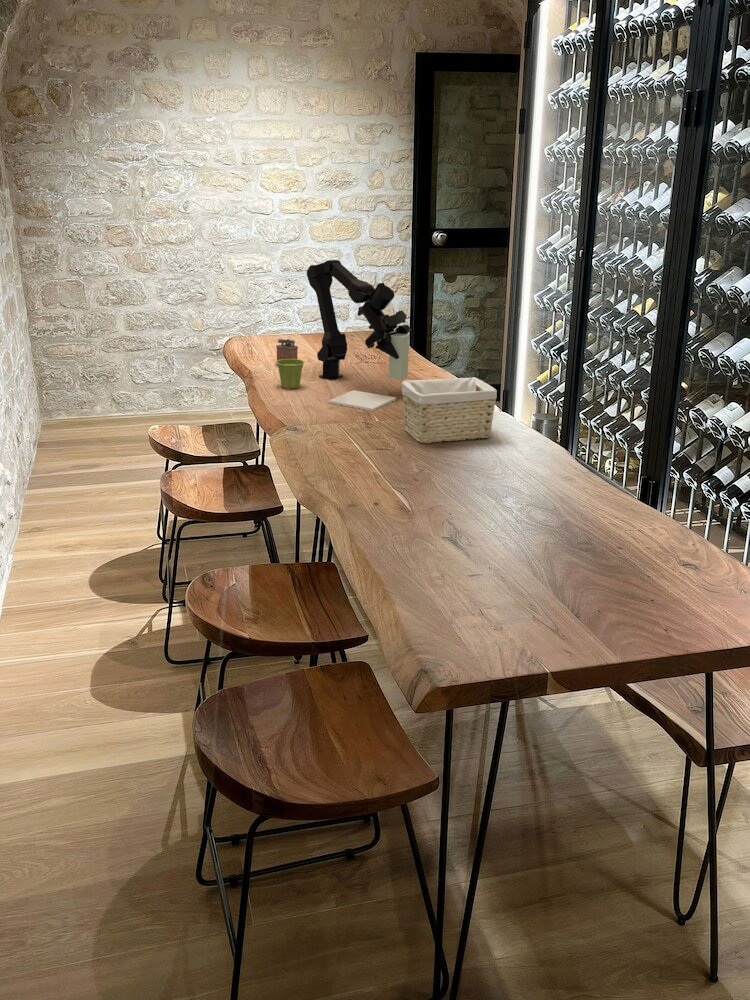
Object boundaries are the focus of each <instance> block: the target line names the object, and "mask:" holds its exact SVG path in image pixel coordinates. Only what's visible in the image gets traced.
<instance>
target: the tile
mask: <svg viewBox="0 0 750 1000" xmlns="http://www.w3.org/2000/svg"><path fill="white" fill-rule="evenodd" d="M396 398H397V397H395V396H390V395H389V396H388V395H384V394H383V395H382V394H377V393H371V392H365V391H359V390H355V389H354V390H351V391H348V392H346V393H345V392H344V393H343V394H341V395H339V396H337V397H333V398H332V399H329V400H327V401H328V402H327V403H328V404H330V403H331V405H337V406H341V405H343V407H347V406H349V407H348V408H352V407H354V408H353V409H358V408H360V409H359V410H363V409H365V410H364V411H369V410H370V411H369V412H374V411H376V410H378V409H380V408H382V407H384V406H387V405H389V404H391V403H392V401H393V402H394V401H396V400H397V399H396Z"/></svg>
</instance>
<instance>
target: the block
mask: <svg viewBox="0 0 750 1000" xmlns="http://www.w3.org/2000/svg"><path fill="white" fill-rule="evenodd" d="M390 336H391V343H392V345H393V346H394V348H395V350H396V352H397V354H398V356H399V358H398V359H395V358H394V357H392V356H390V355H389V357H388V359H389V361H388V362H389V363H388V379H391V380H396V381H402V380H403V381H404V380H405V379H407V378H408V373H409V351H410V335H409V334H407V335H405V334H399V333H397V334H394V335H390Z"/></svg>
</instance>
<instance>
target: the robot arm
mask: <svg viewBox="0 0 750 1000" xmlns="http://www.w3.org/2000/svg"><path fill="white" fill-rule="evenodd" d="M306 276H307V277H306V278H307V281H308V283H309V286H310V287H311V288H312V289H313V290H314V292H315V293H316V294H315V295H316V298H317V303H318V304H317V305H318V310H319V314H320V318H321V324H322V328H323V332H324V333H323V335H322V336H323V337H322V339H321V348H320V349H319V351H317V353H316V356H317V360H318V361H320V362H322V374H320V375H318V377H319V378H322V379H328V380H337V379H340V378H342V377H343V376H344V374H340V367H341V366H340V365H341V363H340V361H342V360H345V359H346V356H347V352H348V342H347V338H346V337H347V335H346V334H345V333H341V331H340V330H339V327H338V322H337V317H336V313H335V308H334V307H335V306H334V302H333V298H332V293H331V286H332V284H333V278H334V279H335V280H337V282H339V284H340V285H342V286H343V287H344V288H345V289H346V290H347V294H348V297H349V298H350V299H351V300H352V302H353V303H355V304H363V305H361V306H359V307H357V308H358V310H357V316H359V317H360V316H364V318H365V319H366V320H367V322H368V325H369V326H368V328H369V330H373V331H372V332H371V333H370V334H369V336H368V337H366V338H365V343H364V344H365V346H366V348H367V349H372V348H375V349H376V350H379V351H381V352H384V353H385V354H387V355H389V356H392V357H394V358H395V359H398V358H399V356H398V354H397V352H396V350H395V348H394V346H393V345H392V343H391V336H390V335H394V334H397V333H399V334H405V335H409V333H410V332H411V331H412V328H411V327H410V325H409V324H404V323H407V322H406V321H407V316H408V315H407V314H406V312H405V311H404V310H399V311H397V312H395V314H392V315H389V314H385V313H384V312H383V311H384V310H385V309H386V308H387V307H388V306H389V305H390V303H391V302H392V301H393V300H394V298H395V292H394V290H393V289H392V288H390V287H389V286H388V285H386V284H385V283H384V282H379V283H378V284H376V287H375V286H373V285H372V284H371V283H369V282H367V281H365V280H364V281H363V280H361V279H359V278H358V277H357V276H355V275H354V274H353V273H352V272H351V271H350V270H349V269H347V268H346V267H345V266H344V265H343V264H342V262H341V260H338V259H327V260H326V261H324V262H322V263H321V262H320V263H318V264H311V265H309V267H308V269H306ZM374 287H375V288H374ZM402 323H403V324H402ZM400 324H401V325H400ZM398 325H399V326H398ZM375 343H376V346H375Z"/></svg>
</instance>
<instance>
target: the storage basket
mask: <svg viewBox="0 0 750 1000" xmlns="http://www.w3.org/2000/svg"><path fill="white" fill-rule="evenodd" d="M497 393H498V390H497V389H496V388H495V387H493V386H491V385H490V384H488V383H487V382H485V381H483V380H482V379H479V378H478V377H474V376H473V377H460V378H459V377H458V378H455V377H454V378H440V379H438V378H437V379H436V378H435V379H416V380H415V379H413V380H411V379H410V380H409V379H407V380H405V379H404V380H403V381H401V394H402V398H403V399H402V400H403V417H404V430H405V432H407V433H408V434H410V436H412V437H413V438H414V440H416V441H417V442H418V441H419V442H418V443H421V444H431V443H430V442H433V443H442V441H448V442H455V441H459V440H460V441H467V440H466V439H468V440H475V439H477V438H478V439H480V438H481V439H486V438H491V434H492V433H491V432H492V425H493V418H494V412H495V411H494V410H495V406H496V402H497V400H496V399H497V398H498V397H497ZM478 439H477V440H478Z"/></svg>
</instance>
